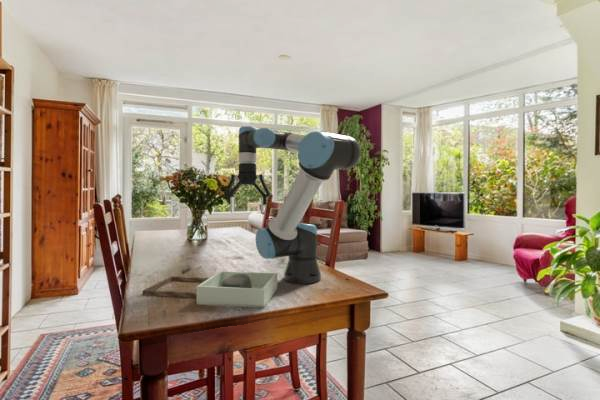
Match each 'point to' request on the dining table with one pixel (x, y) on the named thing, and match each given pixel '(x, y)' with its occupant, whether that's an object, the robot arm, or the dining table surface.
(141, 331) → the dining table surface
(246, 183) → the robot arm
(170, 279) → the frame
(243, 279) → the stone
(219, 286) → the bin
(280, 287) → the dining table surface
